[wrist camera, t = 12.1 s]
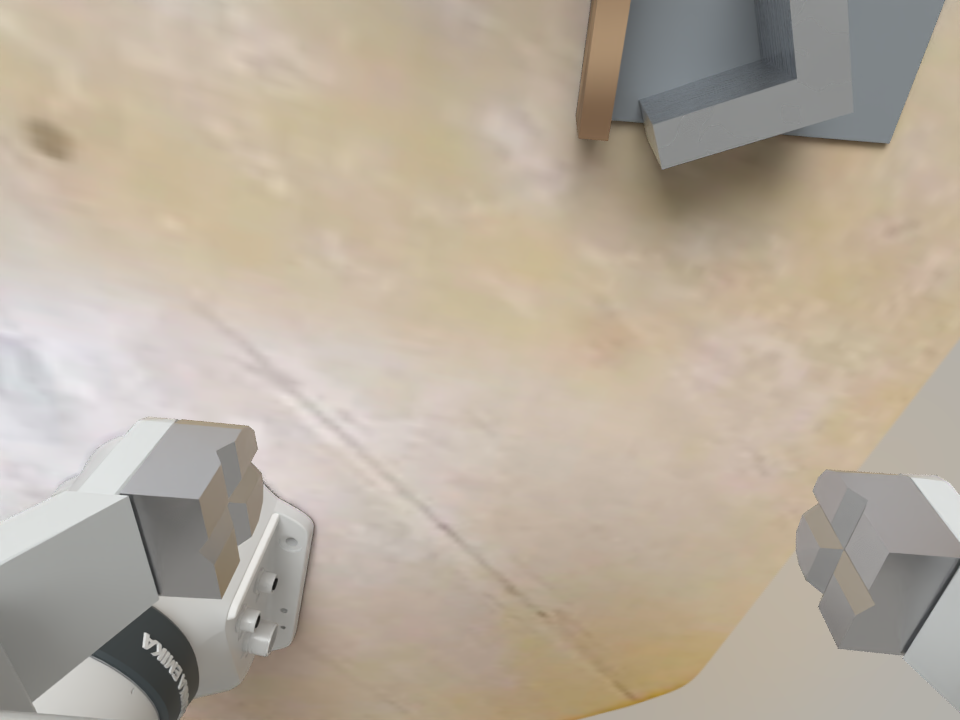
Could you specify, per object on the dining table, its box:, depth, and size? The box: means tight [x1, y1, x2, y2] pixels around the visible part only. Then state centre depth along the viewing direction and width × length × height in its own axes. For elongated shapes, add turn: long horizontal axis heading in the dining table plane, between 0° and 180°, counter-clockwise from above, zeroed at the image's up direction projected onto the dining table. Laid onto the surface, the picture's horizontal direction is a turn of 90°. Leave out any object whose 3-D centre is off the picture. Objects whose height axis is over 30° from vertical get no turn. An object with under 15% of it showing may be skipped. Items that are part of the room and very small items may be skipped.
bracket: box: [639, 0, 853, 170], centre depth 25 cm, size 7×7×5 cm
